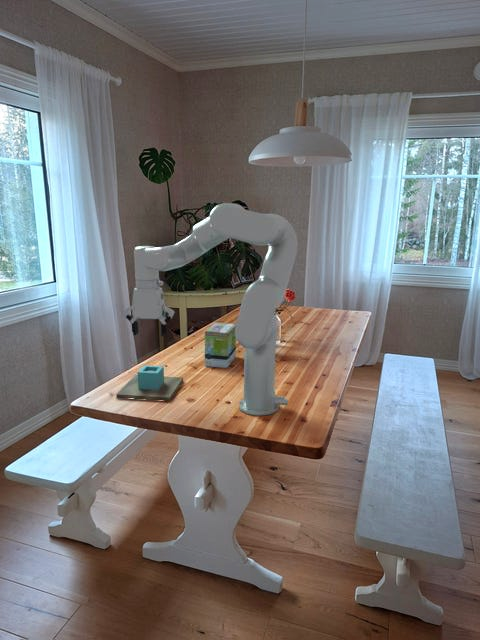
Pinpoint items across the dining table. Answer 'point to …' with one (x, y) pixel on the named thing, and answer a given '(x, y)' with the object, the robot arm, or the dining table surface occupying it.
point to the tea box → (220, 345)
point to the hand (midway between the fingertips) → (149, 334)
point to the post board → (162, 394)
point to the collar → (150, 377)
